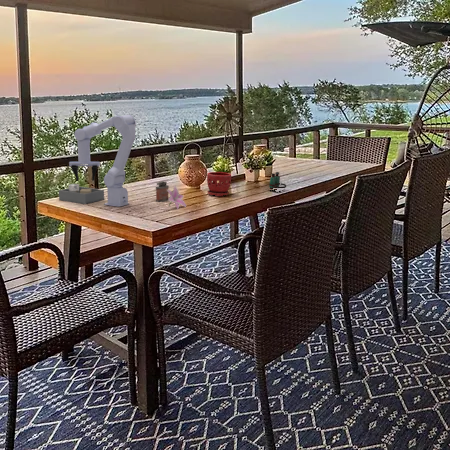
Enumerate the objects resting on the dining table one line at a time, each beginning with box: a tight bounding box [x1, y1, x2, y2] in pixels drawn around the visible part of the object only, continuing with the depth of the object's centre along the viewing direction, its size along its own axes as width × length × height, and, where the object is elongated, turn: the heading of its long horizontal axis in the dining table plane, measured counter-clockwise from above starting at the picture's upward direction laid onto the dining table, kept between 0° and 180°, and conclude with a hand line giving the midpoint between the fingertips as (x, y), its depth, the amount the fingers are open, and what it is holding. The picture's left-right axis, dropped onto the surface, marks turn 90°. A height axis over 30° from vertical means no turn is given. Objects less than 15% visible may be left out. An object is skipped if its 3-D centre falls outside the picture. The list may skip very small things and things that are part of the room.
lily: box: [167, 185, 187, 210], centre depth 250 cm, size 12×12×10 cm
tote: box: [58, 186, 105, 205], centre depth 262 cm, size 18×14×5 cm
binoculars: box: [268, 171, 287, 190], centre depth 294 cm, size 9×11×10 cm
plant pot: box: [206, 171, 232, 197], centre depth 280 cm, size 13×13×12 cm
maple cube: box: [80, 189, 92, 194], centre depth 260 cm, size 5×5×5 cm
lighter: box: [155, 180, 170, 203], centre depth 263 cm, size 8×3×10 cm, turn 141°
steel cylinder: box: [68, 183, 80, 193], centre depth 262 cm, size 5×5×7 cm
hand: (85, 180), depth 258 cm, fingers open, 7 cm apart
